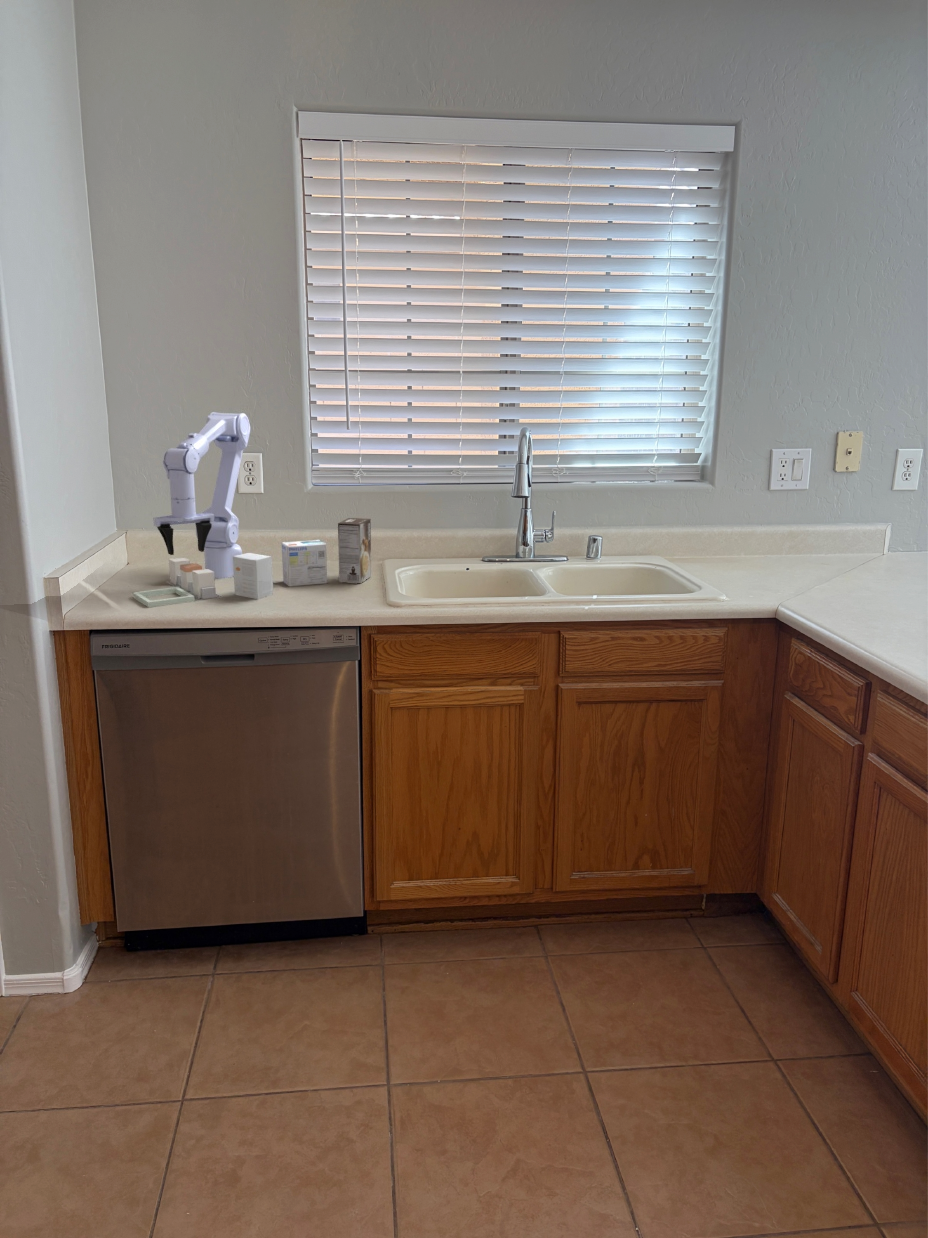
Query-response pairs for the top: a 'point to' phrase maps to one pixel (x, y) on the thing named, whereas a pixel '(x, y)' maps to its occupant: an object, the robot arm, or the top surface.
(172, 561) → the block
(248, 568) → the small box
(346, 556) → the coffee box
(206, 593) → the fuse holder
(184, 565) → the block
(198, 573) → the block
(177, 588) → the tray
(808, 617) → the top surface
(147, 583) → the top surface
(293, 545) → the light bulb box
